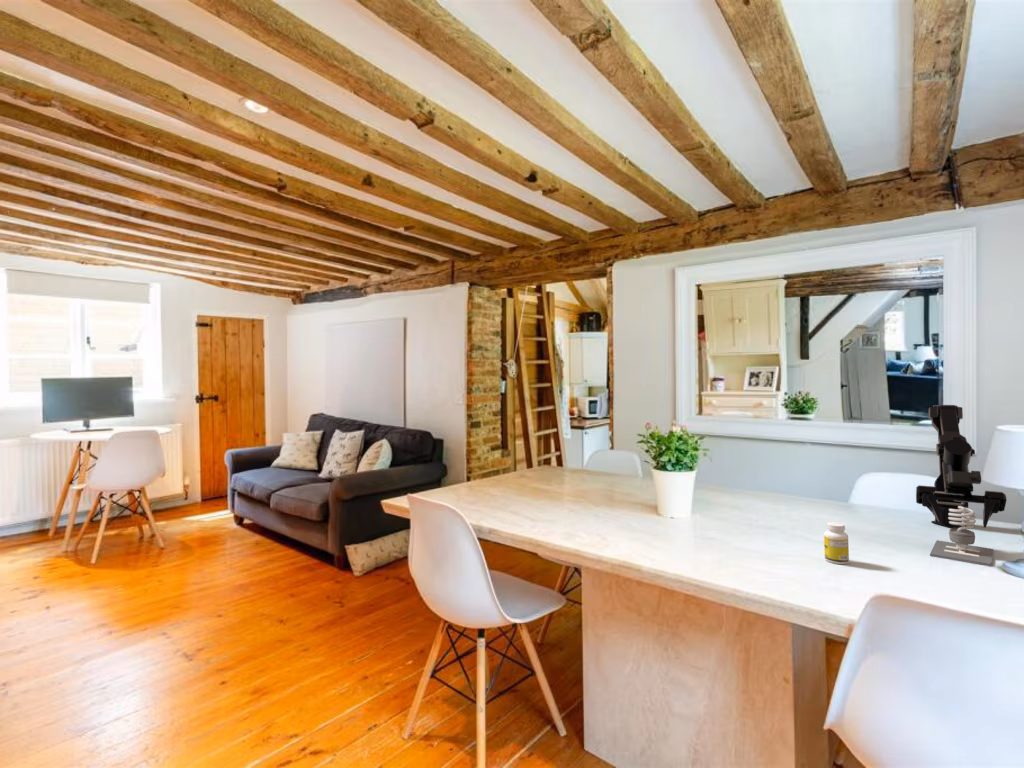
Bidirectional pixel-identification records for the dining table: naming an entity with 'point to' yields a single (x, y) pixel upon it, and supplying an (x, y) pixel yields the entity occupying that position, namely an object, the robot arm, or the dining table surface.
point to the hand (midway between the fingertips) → (962, 524)
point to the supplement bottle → (836, 544)
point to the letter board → (962, 553)
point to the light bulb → (962, 534)
